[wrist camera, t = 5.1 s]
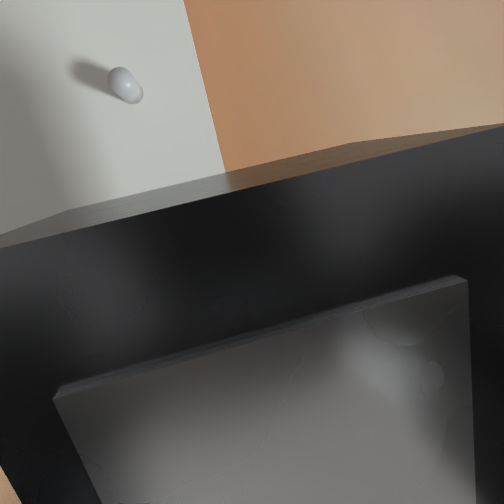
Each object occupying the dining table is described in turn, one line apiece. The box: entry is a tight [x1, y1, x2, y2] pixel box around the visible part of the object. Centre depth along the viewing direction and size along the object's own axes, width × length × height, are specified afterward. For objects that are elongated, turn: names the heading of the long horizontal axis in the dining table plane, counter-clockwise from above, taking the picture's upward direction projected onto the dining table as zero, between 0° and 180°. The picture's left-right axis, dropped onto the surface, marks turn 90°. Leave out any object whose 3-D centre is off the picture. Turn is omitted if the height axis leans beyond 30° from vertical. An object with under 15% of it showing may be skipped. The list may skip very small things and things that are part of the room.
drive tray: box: [0, 0, 225, 235], centre depth 15 cm, size 15×18×3 cm
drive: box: [0, 123, 504, 504], centre depth 6 cm, size 6×10×4 cm, turn 13°
